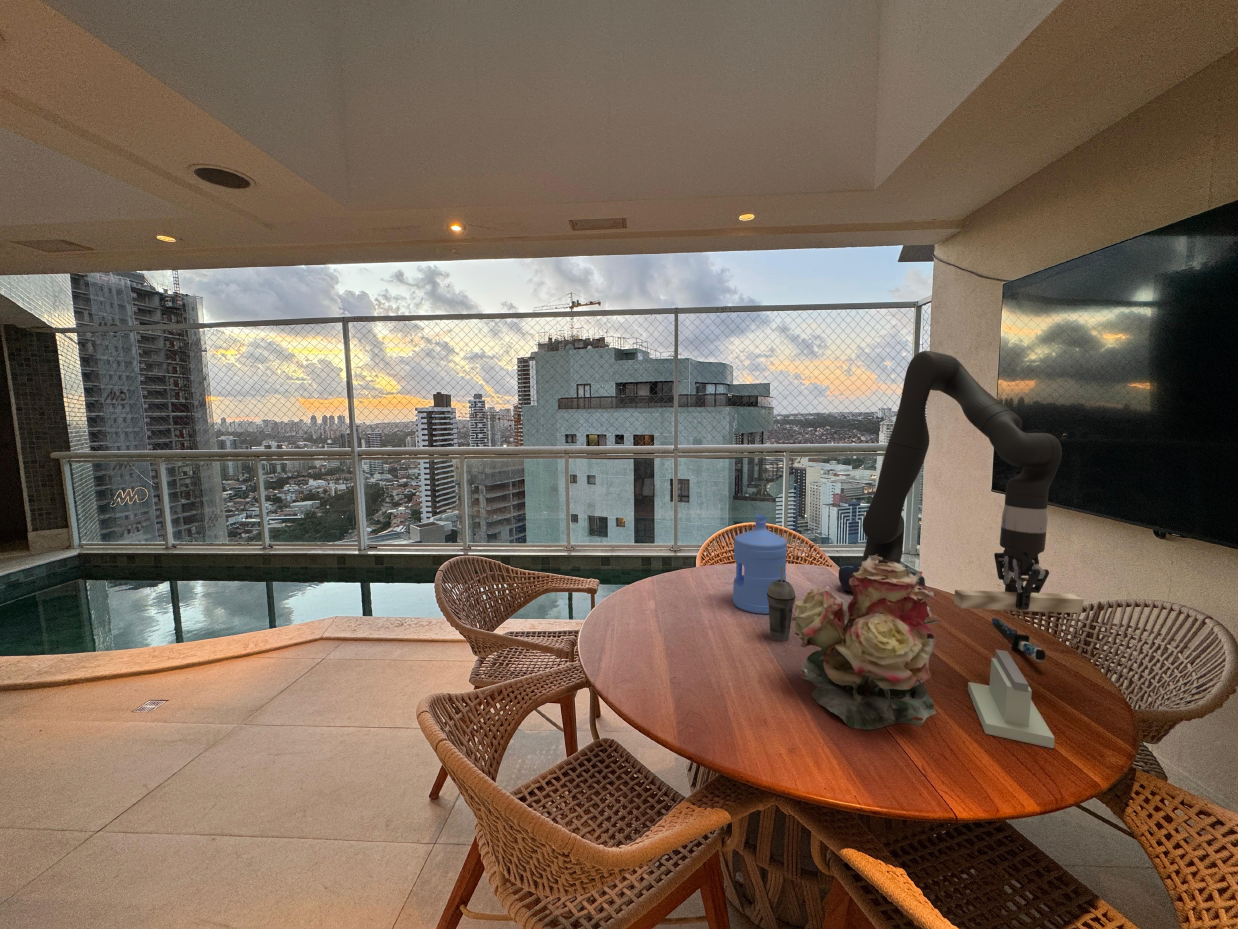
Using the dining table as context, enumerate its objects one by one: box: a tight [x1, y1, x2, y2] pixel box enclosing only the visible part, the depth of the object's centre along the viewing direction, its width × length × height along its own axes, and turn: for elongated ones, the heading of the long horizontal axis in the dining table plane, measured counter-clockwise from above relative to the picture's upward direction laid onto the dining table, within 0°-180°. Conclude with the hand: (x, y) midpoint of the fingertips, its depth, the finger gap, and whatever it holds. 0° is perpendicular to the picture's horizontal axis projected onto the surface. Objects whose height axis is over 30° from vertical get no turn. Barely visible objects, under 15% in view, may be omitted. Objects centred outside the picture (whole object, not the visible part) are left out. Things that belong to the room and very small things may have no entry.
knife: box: [991, 617, 1046, 662], centre depth 129 cm, size 31×3×4 cm, turn 158°
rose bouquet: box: [791, 554, 942, 731], centre depth 104 cm, size 26×29×30 cm
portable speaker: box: [838, 561, 927, 593], centre depth 163 cm, size 25×10×10 cm, turn 52°
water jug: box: [732, 514, 788, 615], centre depth 155 cm, size 16×16×28 cm
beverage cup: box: [767, 565, 796, 642], centre depth 133 cm, size 7×7×20 cm
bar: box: [953, 589, 1084, 614], centre depth 109 cm, size 24×3×3 cm, turn 85°
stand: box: [967, 649, 1056, 749], centre depth 98 cm, size 16×10×10 cm, turn 155°
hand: (1016, 605), depth 109 cm, fingers closed on bar, 3 cm apart
